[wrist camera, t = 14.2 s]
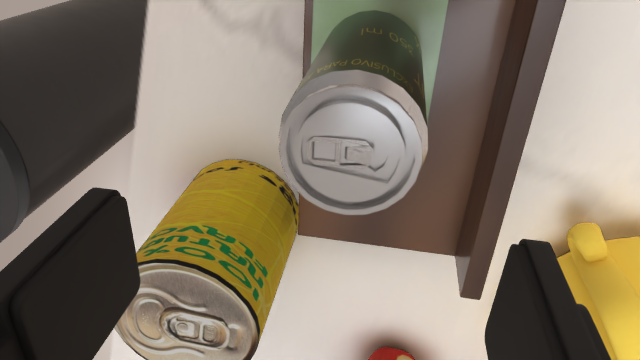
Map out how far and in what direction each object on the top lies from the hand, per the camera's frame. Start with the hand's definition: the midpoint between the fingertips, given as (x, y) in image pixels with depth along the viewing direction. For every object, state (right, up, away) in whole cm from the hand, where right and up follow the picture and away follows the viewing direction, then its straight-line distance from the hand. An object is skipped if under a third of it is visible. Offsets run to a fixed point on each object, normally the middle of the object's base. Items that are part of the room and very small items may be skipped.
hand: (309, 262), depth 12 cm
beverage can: (-6, 0, +26) cm, 27 cm away
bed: (+6, +8, +19) cm, 22 cm away
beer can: (+3, +9, +15) cm, 18 cm away
